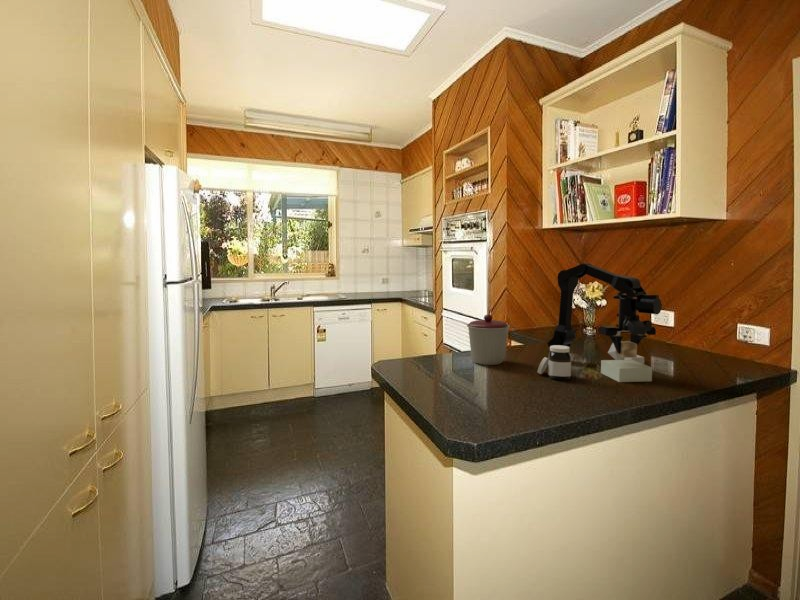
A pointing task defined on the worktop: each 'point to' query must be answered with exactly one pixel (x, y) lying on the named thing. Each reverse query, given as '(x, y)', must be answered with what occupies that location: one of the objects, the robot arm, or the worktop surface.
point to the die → (612, 353)
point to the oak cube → (627, 349)
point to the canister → (488, 340)
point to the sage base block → (626, 370)
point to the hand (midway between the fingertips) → (625, 353)
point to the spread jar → (557, 363)
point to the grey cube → (636, 359)
